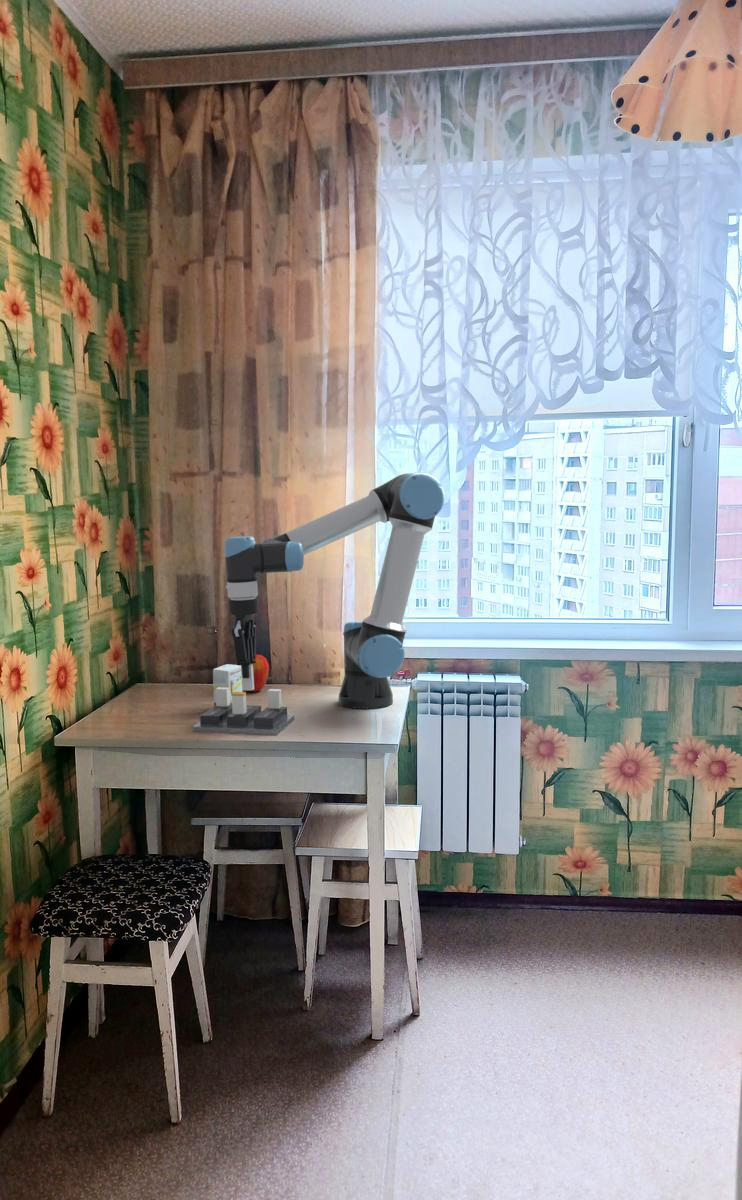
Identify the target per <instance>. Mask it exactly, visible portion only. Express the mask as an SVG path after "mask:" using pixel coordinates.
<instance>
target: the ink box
mask: <svg viewBox="0 0 742 1200" xmlns="http://www.w3.org/2000/svg"><path fill="white" fill-rule="evenodd" d="M212 676H213V677H212V681H213V683H212V684H213V707H214V706H216V688H218V687H225V688H229V692H230V705H232V693H234V692H243V690H242V676H241V665H237V664H230V663H227V664H223V665H221V666H217V667H215V668H213V670H212Z"/></svg>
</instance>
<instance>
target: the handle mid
mask: <svg viewBox="0 0 742 1200" xmlns="http://www.w3.org/2000/svg"><path fill="white" fill-rule="evenodd" d="M246 705H247V692H246V691H242V692H234V693H232V713H233V714H245V713H246V712H247V707H246Z"/></svg>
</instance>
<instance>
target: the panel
mask: <svg viewBox="0 0 742 1200" xmlns="http://www.w3.org/2000/svg"><path fill="white" fill-rule="evenodd" d="M246 707H247V712H246V713H245V714H233V713H232V705H229V706H214V705H213V706H212V707H211V708H209V709H208V710H207V711H205V712H203V713H202V714H200V715H199V722H196V724H194V725H193V726H192V727H191V728H192V732H196V733H197V732H199V733H200V732H201V733H222V734H224V733H227V734H245V735H246V734H248V735H271V736H272V735H273V736H278V735H279V734H280V733H281V732H283V731H284V730H285V729H286V728H287V727H288V726H289V725H291V723H293V722H294V721H295V720H296V719H295V714H288V706H282V707H280V708H268V706H267V707H266V708H264V709H263V710H262V705H253V704H252V705H247V704H246Z"/></svg>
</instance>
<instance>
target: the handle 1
mask: <svg viewBox="0 0 742 1200" xmlns="http://www.w3.org/2000/svg"><path fill="white" fill-rule="evenodd" d="M229 705H230V692H229V688H225V687H218V688H216V706H229Z"/></svg>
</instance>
